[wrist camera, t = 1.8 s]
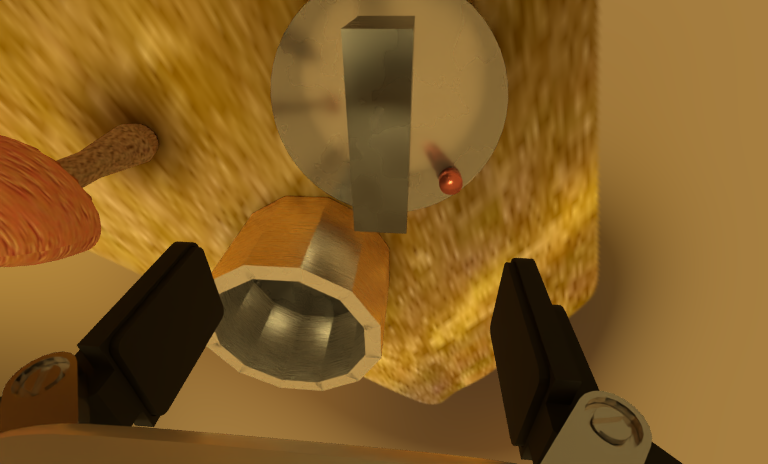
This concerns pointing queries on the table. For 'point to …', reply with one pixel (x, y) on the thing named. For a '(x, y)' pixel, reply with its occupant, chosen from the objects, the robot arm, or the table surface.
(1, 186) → the mushroom
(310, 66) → the lid
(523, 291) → the robot arm
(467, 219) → the table surface
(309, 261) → the pot
